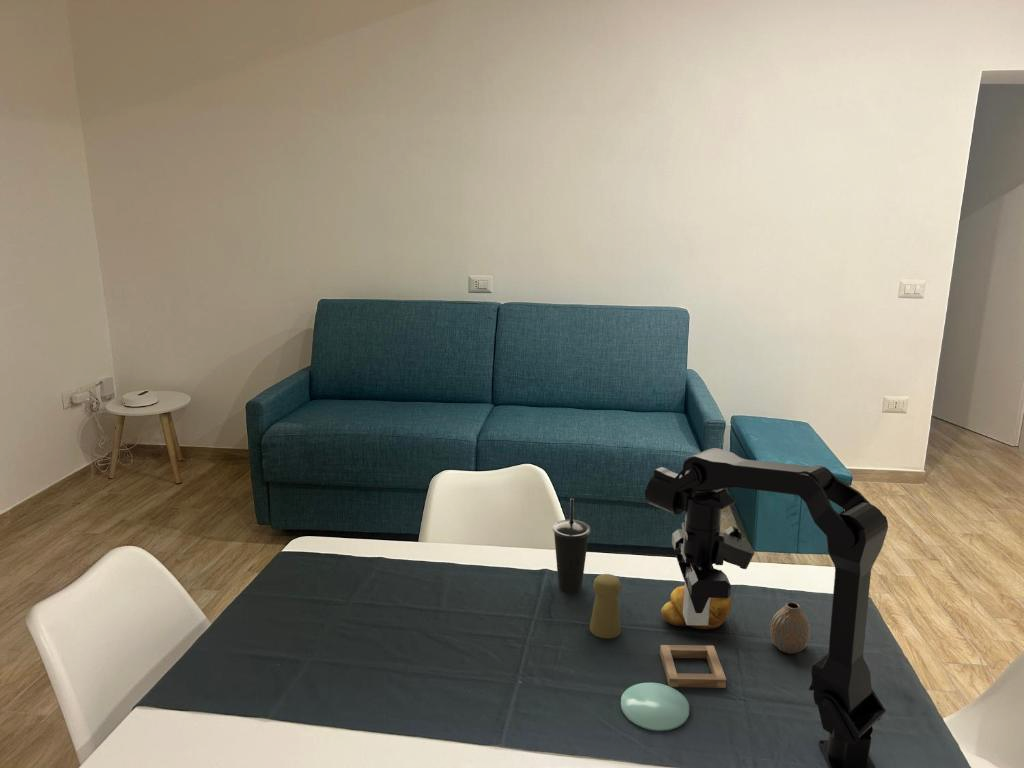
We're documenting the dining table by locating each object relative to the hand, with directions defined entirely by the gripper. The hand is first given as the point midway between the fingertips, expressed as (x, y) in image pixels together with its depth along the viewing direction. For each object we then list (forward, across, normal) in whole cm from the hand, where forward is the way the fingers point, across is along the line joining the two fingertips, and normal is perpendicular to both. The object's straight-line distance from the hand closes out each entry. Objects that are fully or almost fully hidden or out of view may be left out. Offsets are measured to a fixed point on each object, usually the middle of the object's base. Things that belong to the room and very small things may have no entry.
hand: (696, 606), depth 136 cm
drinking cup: (+13, +27, +20) cm, 36 cm away
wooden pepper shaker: (+13, +12, +14) cm, 22 cm away
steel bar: (+3, 0, 0) cm, 3 cm away
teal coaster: (+13, -10, +8) cm, 18 cm away
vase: (+13, +7, -19) cm, 24 cm away
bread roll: (+13, +16, -4) cm, 21 cm away
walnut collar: (+13, 0, 0) cm, 13 cm away
